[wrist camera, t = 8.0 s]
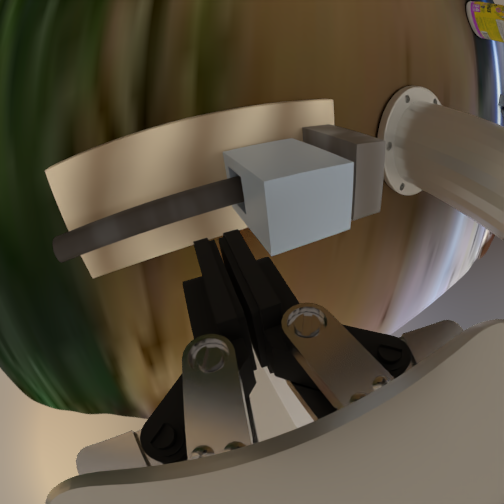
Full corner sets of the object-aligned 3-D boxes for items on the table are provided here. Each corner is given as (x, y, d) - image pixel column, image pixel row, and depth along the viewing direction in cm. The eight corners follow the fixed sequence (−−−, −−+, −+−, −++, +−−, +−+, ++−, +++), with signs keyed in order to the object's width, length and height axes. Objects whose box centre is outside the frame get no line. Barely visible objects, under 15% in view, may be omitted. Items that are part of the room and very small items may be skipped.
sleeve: (292, 138, 18) (353, 162, 13) (295, 189, 20) (350, 229, 15) (222, 151, 16) (263, 181, 11) (231, 206, 19) (271, 256, 14)
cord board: (325, 98, 18) (391, 110, 13) (328, 197, 24) (381, 234, 18) (49, 167, 14) (7, 205, 8) (94, 271, 19) (86, 337, 14)
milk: (321, 321, 34) (438, 478, 14) (284, 374, 39) (367, 512, 18) (239, 322, 28) (367, 546, 8) (210, 382, 33) (292, 556, 13)
